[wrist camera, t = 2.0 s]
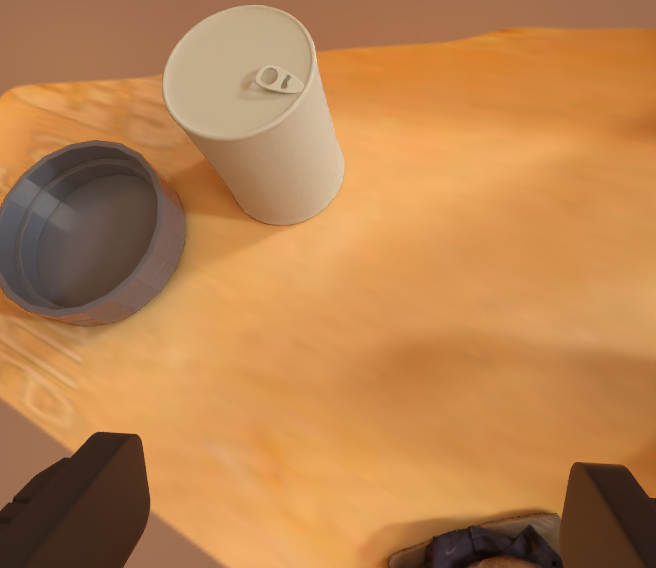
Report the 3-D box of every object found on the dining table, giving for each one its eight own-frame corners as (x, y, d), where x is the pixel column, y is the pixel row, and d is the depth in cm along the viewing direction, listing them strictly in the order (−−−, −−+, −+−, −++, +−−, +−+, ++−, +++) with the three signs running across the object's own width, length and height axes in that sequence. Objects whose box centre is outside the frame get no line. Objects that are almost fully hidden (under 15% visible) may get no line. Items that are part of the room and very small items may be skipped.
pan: (98, 143, 42) (67, 115, 38) (221, 208, 38) (199, 184, 34) (-1, 276, 40) (-44, 260, 36) (119, 360, 36) (84, 352, 32)
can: (313, 242, 36) (267, 156, 24) (211, 203, 38) (126, 107, 27) (364, 140, 38) (342, 15, 26) (263, 108, 40) (204, -18, 29)
